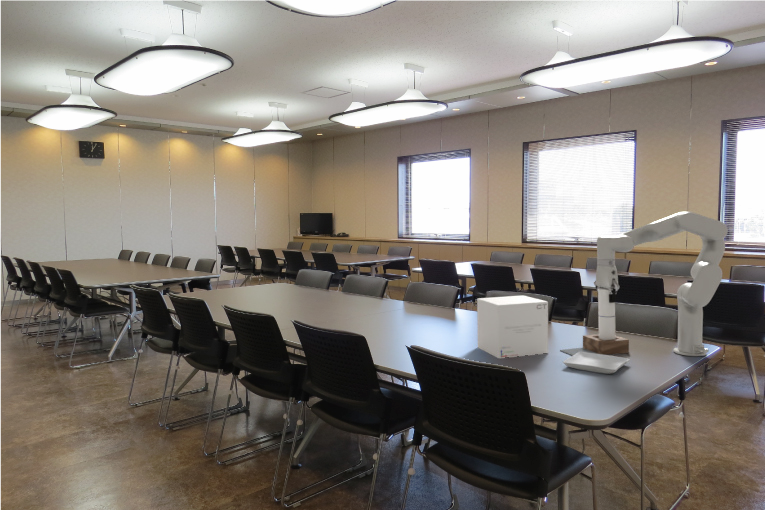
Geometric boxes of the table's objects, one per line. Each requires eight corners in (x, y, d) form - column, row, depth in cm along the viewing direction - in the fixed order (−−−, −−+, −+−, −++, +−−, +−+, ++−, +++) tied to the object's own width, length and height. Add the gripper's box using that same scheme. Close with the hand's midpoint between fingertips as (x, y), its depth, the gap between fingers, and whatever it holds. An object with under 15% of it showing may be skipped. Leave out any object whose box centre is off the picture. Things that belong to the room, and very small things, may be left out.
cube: (498, 359, 233) (498, 305, 231) (477, 348, 254) (477, 298, 252) (548, 354, 240) (548, 301, 238) (523, 344, 260) (523, 295, 259)
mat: (599, 354, 235) (599, 353, 235) (576, 357, 232) (576, 356, 232) (582, 348, 246) (582, 347, 246) (560, 350, 243) (560, 349, 243)
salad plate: (579, 358, 232) (579, 350, 232) (630, 365, 219) (630, 357, 218) (561, 369, 216) (561, 361, 215) (615, 378, 202) (616, 369, 202)
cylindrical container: (598, 343, 241) (597, 289, 239) (599, 340, 247) (598, 287, 246) (614, 344, 237) (614, 290, 236) (616, 341, 244) (615, 288, 242)
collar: (628, 352, 238) (628, 339, 237) (602, 355, 234) (602, 342, 234) (607, 345, 251) (608, 333, 251) (582, 348, 248) (582, 335, 247)
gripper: (626, 264, 232) (626, 303, 234) (600, 261, 249) (600, 298, 250) (612, 265, 231) (612, 304, 232) (586, 262, 247) (587, 299, 248)
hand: (606, 301), depth 241 cm, fingers closed on cylindrical container, 7 cm apart
